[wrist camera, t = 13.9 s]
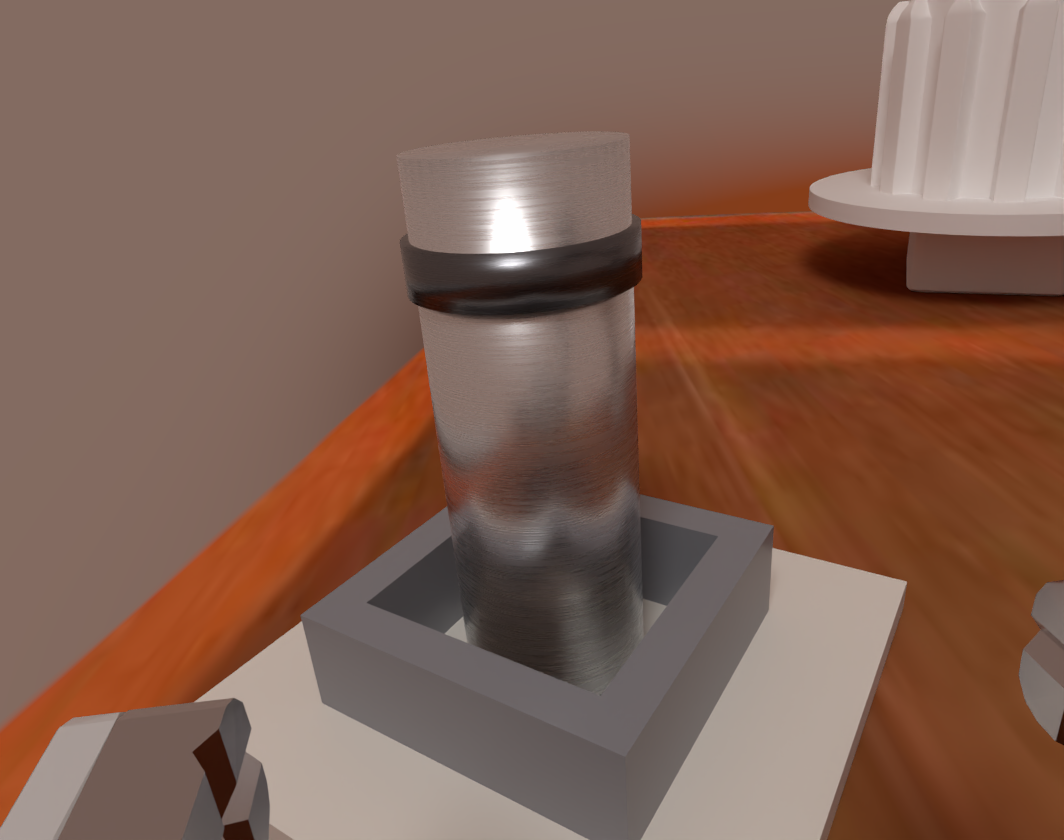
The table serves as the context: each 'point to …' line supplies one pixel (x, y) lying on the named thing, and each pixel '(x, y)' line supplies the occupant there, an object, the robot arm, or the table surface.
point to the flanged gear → (967, 147)
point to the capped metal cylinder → (534, 389)
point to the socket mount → (575, 701)
